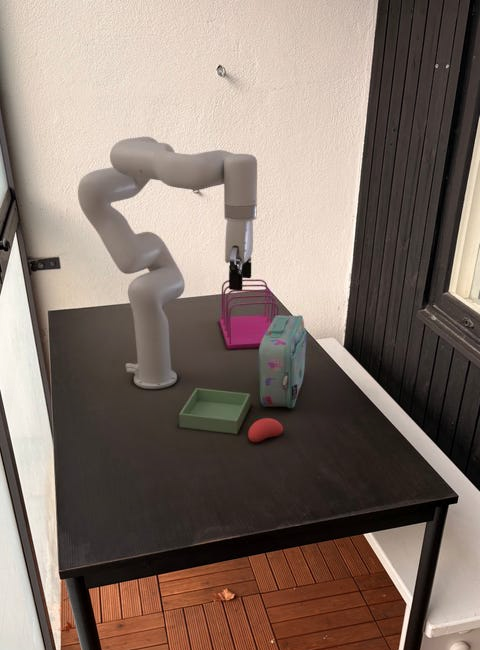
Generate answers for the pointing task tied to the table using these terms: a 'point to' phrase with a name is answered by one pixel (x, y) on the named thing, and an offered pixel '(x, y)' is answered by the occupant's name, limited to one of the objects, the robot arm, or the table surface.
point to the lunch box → (282, 361)
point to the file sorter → (246, 320)
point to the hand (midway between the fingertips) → (240, 283)
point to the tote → (215, 410)
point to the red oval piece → (264, 429)
